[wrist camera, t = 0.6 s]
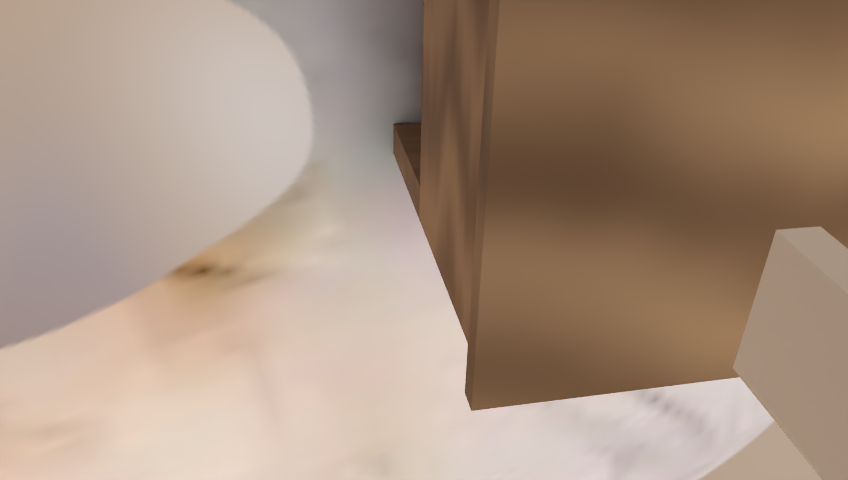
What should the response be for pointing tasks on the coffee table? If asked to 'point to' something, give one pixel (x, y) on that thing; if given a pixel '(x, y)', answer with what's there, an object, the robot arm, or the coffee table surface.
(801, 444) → the robot arm
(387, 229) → the coffee table surface
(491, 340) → the cabinet
